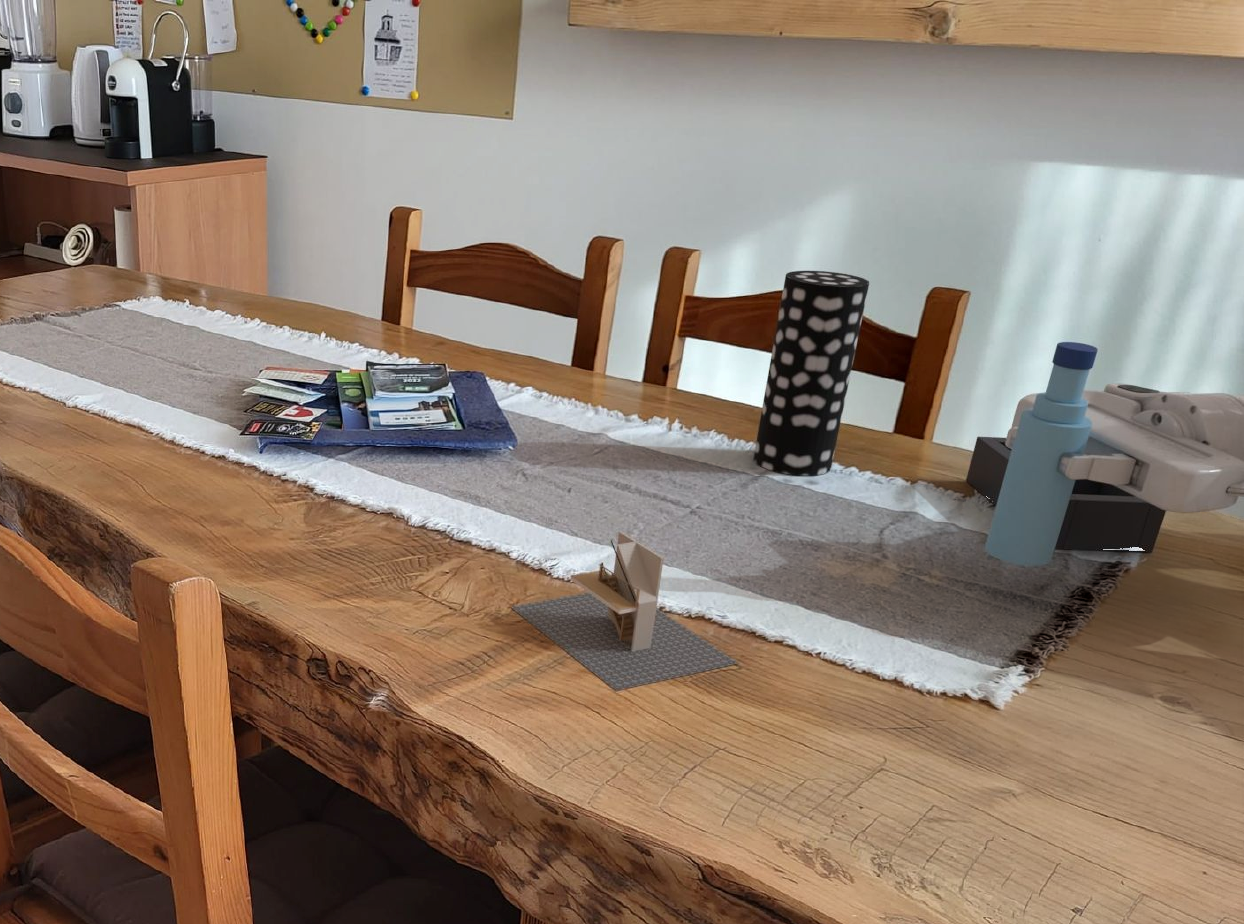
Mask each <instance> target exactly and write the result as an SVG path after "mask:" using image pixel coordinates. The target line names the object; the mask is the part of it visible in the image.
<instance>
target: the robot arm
mask: <svg viewBox="0 0 1244 924" xmlns="http://www.w3.org/2000/svg"><path fill="white" fill-rule="evenodd" d="M1040 393H1041V392H1035V393H1029V394H1027V395H1025V396H1023V397H1022V398H1021V399H1020V400H1019V401H1018V403H1017V405H1016V409H1015V412H1014V415H1013V418H1012V424H1011V427H1010V428H1009V429H1008V431H1007V434H1006V437H1005V438H1006V442H1005V445H1006V446H1007V447H1008V448H1010V449H1012V447H1013V443H1014V440H1015V436H1016V432H1017V429H1018V425H1019V421H1020V418H1021V414H1022V412H1023V411H1024V410H1026V409H1030V408H1033V406H1034V402H1035V399H1036V396H1037V394H1040ZM1043 393H1046V391H1045V392H1043ZM1082 399H1084V400H1086V401H1087V402H1088V407H1087V410H1086V413H1085V417H1087V418H1088V419H1090V420H1091V421H1092V427H1091V430H1090V434H1089V437H1088V440H1087V444H1086V447H1085V450H1084V453H1082V452H1073V453H1070V452H1066V453H1064V454H1063V455H1062V456H1061V457H1060V460H1059V461H1060V464H1059V465H1058V467H1057V472H1058V473H1060V474H1062V475H1063V476H1065V477H1067V478H1069V479H1072V480H1075V479H1088V480H1092V481H1098V482H1103V483H1108V484H1112V485H1114V486H1116V487H1118V488H1120V489H1122V490H1124V491H1126V492H1128V493H1130V494H1132V495H1134V496H1136V497H1138V498H1140V499H1142V500H1144V501H1146V502H1148V503H1150V504H1152V505H1154V506H1156V507H1158V508H1160V509H1162V510H1166V512H1170V513H1171V512H1172V513H1176V514H1177V513H1178V514H1193V513H1203V512H1211V511H1217V510H1223V509H1227V508H1230V507H1232V506H1234V505H1235V504H1236V503H1237V501H1238V498H1239V497H1241V498H1243V497H1244V394H1243V395H1240V396H1237V395H1234V394H1231V393H1223V392H1211V393H1209V392H1205V393H1204V392H1202V393H1200V392H1199V393H1191V392H1188V391H1160V390H1158V389H1153V388H1148V387H1143V386H1138V385H1133V384H1128V383H1122V382H1121V383H1118V382H1117V383H1108V384H1106V385H1105V387H1104V389H1103V391H1102V390H1095V389H1084V391H1083V394H1082Z"/></svg>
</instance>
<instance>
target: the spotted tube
mask: <svg viewBox="0 0 1244 924" xmlns="http://www.w3.org/2000/svg"><path fill="white" fill-rule="evenodd" d="M869 287H870V281H869V280H867V279H866V278H864V277H860V276H856V275H852V274H847V273H842V272H834V271H824V270H795V271H789V272H787V273H785V278H784V282H783V289H782V295H781V300H780V306H779V312H778V316H777V323H776V327H775V333H774V339H773V344H772V351H771V356H770V362H769V368H768V374H767V380H766V384H765V389H764V396H763V402H762V408H761V413H760V419H759V424H758V430H757V435H756V441H755V446H754V453H753V458H752V459H753V462H754V463H756V464H757V465H758V466H759V467H761V468H764V469H765V470H769V471H772V472H775V473H780V474H786V475H791V476H803V477H805V476H807V477H808V476H809V477H810V476H820V475H824V474H827V473H828V472H830V471H831V469H832V466H833V460H834V456H835V451H836V446H837V441H838V437H839V432H840V426H841V422H842V418H843V412H844V408H845V403H846V398H847V393H848V389H849V384H850V379H851V375H852V374H851V373H852V369H853V364H854V360H855V355H856V350H857V344H858V340H859V336H860V331H861V325H862V322H863V316H864V311H865V306H866V301H867V296H868V293H869V292H868V291H869Z"/></svg>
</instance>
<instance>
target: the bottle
mask: <svg viewBox="0 0 1244 924" xmlns="http://www.w3.org/2000/svg"><path fill="white" fill-rule="evenodd" d="M1097 354H1098V348H1097V347H1096V346H1093V345H1091V344H1087V343H1082V342H1076V341H1061V342H1058V343H1057V344H1056V347H1055V350H1054V354H1053V358H1052V361H1051V362H1052V364H1053V365H1052V368H1051V373H1050V376H1049V379H1048V382H1047V386H1046V390H1045V392H1046V393H1044V392H1039V393H1040V394H1037V396H1036V399H1035V402H1034V406H1033V408H1030V409H1026V410H1024V411H1023V412H1022V414H1021V418H1020V421H1019V425H1018V429H1017V432H1016V436H1015V440H1014V443H1013V447H1012V451H1011V454H1010V458H1009V461H1008V465H1007V469H1006V472H1005V476H1004V480H1003V483H1002V487H1001V490H1000V494H999V498H998V501H997V505H996V506H995V508H994V514H993V515H992V519H991V524H990V526H989V531H988V535H987V539H986V542H985V546H984V548H985V551H986V553H988V554H989V555H990V556H992V557H994V558H995V559H998V560H1000V561H1003V562H1005V563H1009V564H1014V565H1018V566H1025V567H1026V566H1027V567H1041V566H1045V565H1049V563H1051V561H1052V559H1053V556H1054V552H1055V550H1056V549H1055V546H1056V543H1057V539H1058V536H1059V533H1060V529H1061V526H1062V523H1063V520H1064V516H1065V513H1066V510H1067V506H1068V503H1069V500H1070V496H1071V493H1072V490H1073V487H1074V483H1075V480H1076V479H1075V480H1072V479H1069V478H1067V477H1065V476H1063V475H1062V474H1060V473H1058V472H1057V467H1058V465H1059V464H1060V461H1059V460H1060V457H1061V456H1062V455H1063V454H1064V453H1066V452H1070V453H1073V452H1082V453H1084V450H1085V447H1086V444H1087V440H1088V437H1089V434H1090V430H1091V427H1092V421H1091V420H1090V419H1088V418H1087V417H1085V413H1086V410H1087V407H1088V402H1087V401H1086V400H1084V399H1082V394H1083V391H1084V390H1085V387H1086V384H1087V380H1088V377H1089V373H1090V370H1091V369H1093V368H1094V365H1095V361H1096V357H1097Z"/></svg>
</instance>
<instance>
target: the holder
mask: <svg viewBox="0 0 1244 924" xmlns="http://www.w3.org/2000/svg"><path fill="white" fill-rule="evenodd" d="M1006 438H1007V437H999V436H998V437H996V436H977V437H976V440H975V444H974V449H973V452H972V456H971V460H970V463H969V466H968V471H967V475H966V479H965V482H967V484H969V485H970V486H971V487H972V488H973V489H975V490H976V491H977V492H978V493H979V494H981V495H982V496H983V498H986V499H987V500H988V501H989V502H990V503H992V504H993V505H994V506H995V507H996V505H997V501H998V498H999V494H1000V490H1001V487H1002V483H1003V480H1004V476H1005V472H1006V469H1007V465H1008V461H1009V458H1010V454H1011V451H1012V449H1010V448H1008V447H1007V446H1006V445H1005V442H1006ZM986 496H987V497H988V498H990V499H988V498H987V497H986ZM992 501H993V502H992ZM1166 513H1167V511H1166V510H1162V509H1160V508H1158V507H1156V506H1154V505H1152V504H1150V503H1148V502H1146V501H1144V500H1142V499H1140V498H1138V497H1136V496H1134V495H1132V494H1130V493H1128V492H1126V491H1124V490H1122V489H1120V488H1118V487H1116V486H1114V485H1112V484H1108V483H1103V482H1098V481H1092V480H1088V479H1076V480H1075V483H1074V487H1073V490H1072V493H1071V496H1070V500H1069V503H1068V506H1067V510H1066V513H1065V516H1064V520H1063V523H1062V526H1061V529H1060V533H1059V536H1058V539H1057V543H1056V546H1055V549H1054V550H1073V551H1075V550H1080V551H1102V552H1103V551H1104V552H1127V553H1150V554H1151V553H1153V550H1154V549H1155V545H1156V542H1157V539H1158V536H1159V533H1160V530H1161V527H1162V524H1163V521H1164V518H1165V516H1166ZM1130 547H1131V548H1132V547H1139V548H1142V549H1143V550H1145V551H1129V550H1103V549H1120V548H1122V549H1123V548H1130Z"/></svg>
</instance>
